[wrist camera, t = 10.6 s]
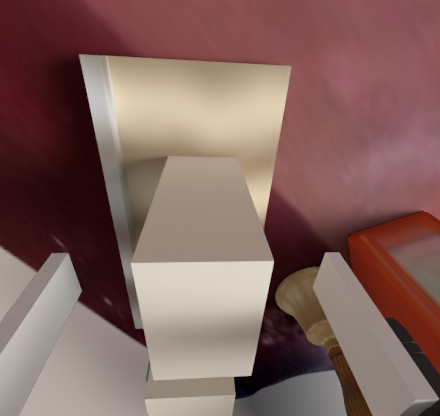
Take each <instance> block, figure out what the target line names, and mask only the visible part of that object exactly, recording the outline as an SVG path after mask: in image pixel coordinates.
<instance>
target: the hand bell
mask: <svg viewBox="0 0 440 416" xmlns="http://www.w3.org/2000/svg"><path fill="white" fill-rule="evenodd" d="M319 269H320V267H309V268H305V269H302V270H299V271H297V272H295V273H293V274H291V275H289V276H288V277H287V278H285V279H284V280H283V281H282V282H281V283H280V285H279V286H278V288H277V290H276V294H275V299H276V303H277V304H278V306H279V307H280V308H281V309H282V310H283V311H285V312H286V313H288V314H290V315H292V316H293V317H294V318H295V319H296V320H297V321H298V323H299V324H300V326H301V328H302V329H303V331H304V333H305V335H306V337H307V339H308V340H309V341H310V342H311V343H313V344H315V345H320V346H325V348H326V350H327V352H328V356H329V358H330V360H331V362H332V365H333V367H334V369H335V371H336V374H337V376H338V378H339V380H340V383H341V387H342V391H343V397H344V404H345V409H346V413H347V416H373V415H372V413H371V411H370V409H369V407H368V405H367V403H366V401H365V398H364V396H363V394H362V392H361V390H360V388H359V386H358V383H357V381H356V379H355V377H354V375H353V373H352V371H351V369H350V366H349V364H348V362H347V360H346V358H345V356H344V354H343V351H342V349H341V347H340V345H339V343H338V341H337V339H336V336H335V334H334V332H333V330H332V328H331V326H330V324H329V322H328V319H327V317H326V315H325V313H324V311H323V309H322V307H321V304H320V302H319V300H318V298H317V296H316V294H315V292H314V290H313V285H314V282H315V280H316V277H317V274H318V271H319Z"/></svg>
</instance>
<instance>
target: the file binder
mask: <svg viewBox="0 0 440 416" xmlns="http://www.w3.org/2000/svg"><path fill="white" fill-rule="evenodd" d="M347 238H348V245H349V253H350V261H351V268H352V272H353V273H354V275H355V276H356V278H357V279H358V281H359V282H360V284H361V285H362V287H363V288H364V289H365V291H366V292H367V294H368V295H369V297H370V298H371V300H372V301H373V303H374V304H375V306H376V307H377V308H378V310H379V311H380V313H381V314H382V316H383V317H384V318H394V319H395V320H397V321H398V322H399V323H400V324H401V325H402V326H403V327H405V328H406V329H407V331H408V332H409V334H410V335H411V336H412V338H413V339H414V340H415V343H416V344H418V346H419V347H420V348H421V350H422V351H423V354H424V355H426V357H427V358H428V359H429V361H430V362H431V363H432V365H433V366H434V367H435V369H436V370H437V372H438V373H439V374H440V220H438V219H437V218H435V217H434V216H432V215H431V214H429V213H428V212H424V211H422V212H419V213H416V214H412V215H409V216H406V217H403V218H400V219H397V220H394V221H391V222H388V223H385V224H382V225H379V226H376V227H372V228H369V229H366V230H363V231H360V232H357V233H354V234H351V236H350V237H347Z"/></svg>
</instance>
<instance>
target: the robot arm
mask: <svg viewBox="0 0 440 416" xmlns="http://www.w3.org/2000/svg"><path fill="white" fill-rule="evenodd" d="M313 290H314V292H315V294H316V296H317V298H318V300H319V302H320V304H321V307H322V309H323V311H324V313H325V315H326V317H327V319H328V322H329V324H330V326H331V328H332V330H333V332H334V334H335V336H336V339H337V341H338V343H339V345H340V347H341V349H342V351H343V354H344V356H345V358H346V360H347V362H348V364H349V366H350V369H351V371H352V373H353V375H354V377H355V379H356V381H357V383H358V386H359V388H360V390H361V392H362V394H363V396H364V398H365V401H366V403H367V405H368V407H369V409H370V411H371V413H372V415H373V416H440V374H439V373H438V372H437V370H436V369H435V367H434V366H433V365H432V363H431V362H430V361H429V359H428V358H427V357H426V355H424V354H423V351H422V350H421V348H420V347H419V346H418V344H416V343H415V340H414V339H413V338H412V336H411V335H410V334H409V332H408V331H407V329H406V328H405V327H403V326H402V325H401V324H400V323H399V322H398V321H397V320H395V319H394V318H384V317H383V316H382V314H381V313H380V311H379V310H378V308H377V307H376V306H375V304H374V303H373V301H372V300H371V298H370V297H369V295H368V294H367V292H366V291H365V289H364V288H363V287H362V285H361V284H360V282H359V281H358V279H357V278H356V276H355V275H354V273H353V272H352V270H351V269H350V268H349V266H348V265H347V263H346V262H345V260H344V259H343V257H342V256H341V254H340V253H339V252H325V255H324V258H323V260H322V263H321V266H320V269H319V271H318V274H317V277H316V280H315V282H314V285H313ZM81 292H82V290H81V287H80V284H79V281H78V279H77V276H76V273H75V270H74V267H73V265H72V262H71V259H70V256H69V254H68V253H52V254H51V255H50V257H49V258H48V259H47V261H46V262H45V263H44V265H43V266H42V267H41V269H40V270H39V271H38V273H37V274H36V275H35V277H34V278H33V279H32V281H31V282H30V283H29V285H28V286H27V287H26V289H25V290H24V291H23V292H22V294H21V295H20V296H19V298H18V299H17V300H16V302H15V303H14V305H13V306H12V307H11V309H10V310H9V311H8V312H7V314H6V315H5V316H4V318H3V319H2V320H1V322H0V416H19V414H20V412H21V410H22V408H23V406H24V404H25V402H26V400H27V398H28V396H29V394H30V392H31V390H32V388H33V386H34V384H35V383H36V381H37V379H38V377H39V374H40V373H41V371H42V369H43V367H44V365H45V363H46V361H47V359H48V357H49V355H50V353H51V351H52V349H53V347H54V345H55V343H56V341H57V339H58V337H59V335H60V333H61V331H62V329H63V327H64V325H65V323H66V321H67V319H68V317H69V315H70V313H71V311H72V309H73V307H74V306H75V304H76V302H77V300H78V298H79V296H80V294H81Z"/></svg>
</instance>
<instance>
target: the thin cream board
mask: <svg viewBox="0 0 440 416" xmlns="http://www.w3.org/2000/svg"><path fill="white" fill-rule="evenodd" d="M79 57H80V62H81V66H82V71H83V76H84V81H85V86H86V91H87V96H88V100H89V105H90V110H91V115H92V120H93V125H94V130H95V134H96V139H97V144H98V149H99V154H100V159H101V164H102V169H103V173H104V178H105V183H106V184H105V185H106V189H107V194H108V199H109V204H110V209H111V214H112V219H113V223H114V228H115V232H116V237H117V241H118V246H119V251H120V256H121V261H122V266H123V271H124V275H125V280H126V286H127V291H128V296H129V301H130V306H131V309H132V314H133V319H134V324H135V329H141V328H143V323H142V318H141V313H140V308H139V303H138V297H137V292H136V287H135V282H134V277H133V272H132V267H131V261H132V258H133V255H134V252H135V250H136V247H137V244H138V241H139V238H140V235H141V232H142V230H143V227H144V224H145V221H146V218H147V215H148V212H149V210H150V207H151V204H152V201H153V198H154V195H155V192H156V190H157V187H158V184H159V181H160V178H161V175H162V172H163V170H164V167H165V164H166V161H167V158H168V156H206V157H237V158H238V161H239V164H240V167H241V170H242V172H243V175H244V178H245V181H246V184H247V186H248V189H249V192H250V195H251V198H252V200H253V203H254V206H255V209H256V212H257V214H258V217H259V220H260V223H261V225H262V228H263V230H264V224H265V218H266V212H267V207H268V201H269V195H270V189H271V183H272V177H273V171H274V165H275V160H276V154H277V148H278V142H279V136H280V130H281V124H282V119H283V113H284V107H285V101H286V95H287V89H288V83H289V78H290V72H291V66H282V65H264V64H246V63H229V62H211V61H193V60H176V59H158V58H140V57H123V56H105V55H81V54H79Z"/></svg>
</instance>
